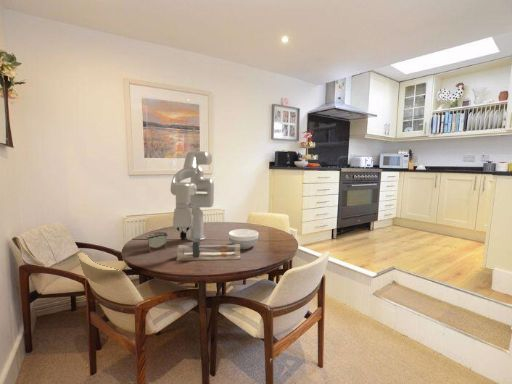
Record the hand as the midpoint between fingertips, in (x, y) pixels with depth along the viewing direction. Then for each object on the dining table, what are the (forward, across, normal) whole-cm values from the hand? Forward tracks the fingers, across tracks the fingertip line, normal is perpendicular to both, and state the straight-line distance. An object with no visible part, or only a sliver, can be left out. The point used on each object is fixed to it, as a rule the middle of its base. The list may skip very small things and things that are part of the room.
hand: (183, 239), depth 136 cm
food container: (+10, +19, -15) cm, 26 cm away
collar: (+9, -7, -1) cm, 11 cm away
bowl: (+10, -34, -19) cm, 40 cm away
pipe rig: (+10, -14, -1) cm, 17 cm away
